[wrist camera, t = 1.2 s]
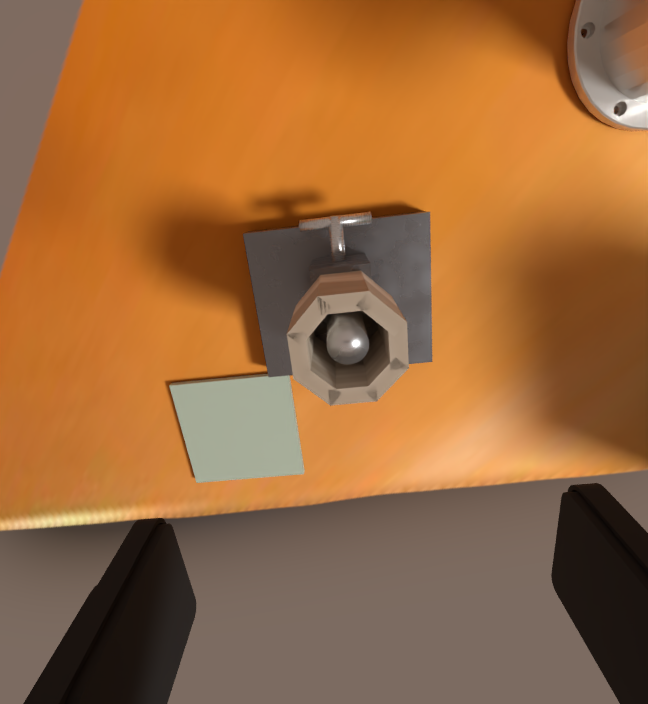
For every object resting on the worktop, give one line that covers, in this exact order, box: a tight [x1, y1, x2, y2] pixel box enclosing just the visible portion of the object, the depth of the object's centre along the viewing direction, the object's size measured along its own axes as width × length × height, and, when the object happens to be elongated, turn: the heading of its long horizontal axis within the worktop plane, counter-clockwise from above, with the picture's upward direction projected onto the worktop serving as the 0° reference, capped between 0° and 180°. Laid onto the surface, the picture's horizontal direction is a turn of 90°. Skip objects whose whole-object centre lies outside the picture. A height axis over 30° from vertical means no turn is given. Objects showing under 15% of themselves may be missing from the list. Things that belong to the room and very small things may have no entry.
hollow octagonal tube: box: [287, 270, 409, 405], centre depth 24 cm, size 6×6×6 cm
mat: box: [169, 374, 304, 483], centre depth 38 cm, size 11×11×1 cm
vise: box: [243, 211, 432, 377], centre depth 28 cm, size 14×13×12 cm
